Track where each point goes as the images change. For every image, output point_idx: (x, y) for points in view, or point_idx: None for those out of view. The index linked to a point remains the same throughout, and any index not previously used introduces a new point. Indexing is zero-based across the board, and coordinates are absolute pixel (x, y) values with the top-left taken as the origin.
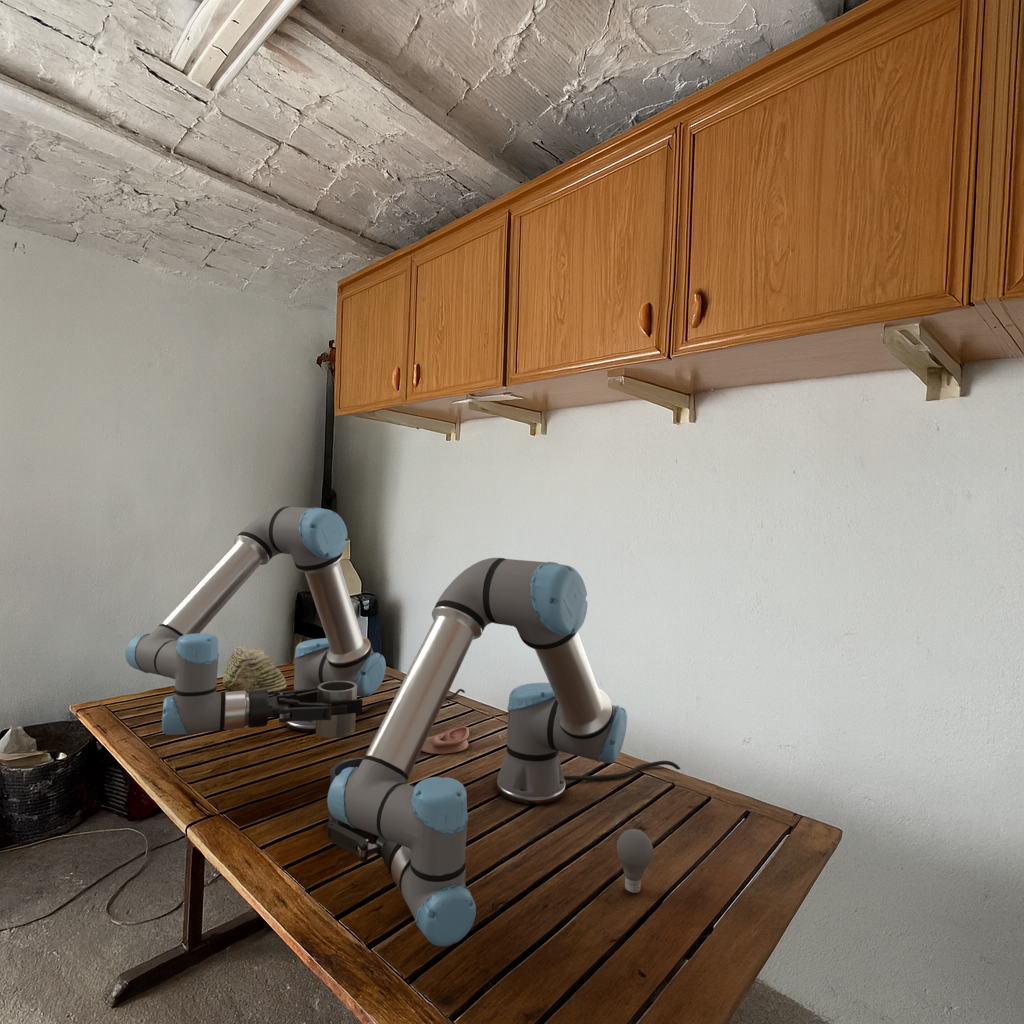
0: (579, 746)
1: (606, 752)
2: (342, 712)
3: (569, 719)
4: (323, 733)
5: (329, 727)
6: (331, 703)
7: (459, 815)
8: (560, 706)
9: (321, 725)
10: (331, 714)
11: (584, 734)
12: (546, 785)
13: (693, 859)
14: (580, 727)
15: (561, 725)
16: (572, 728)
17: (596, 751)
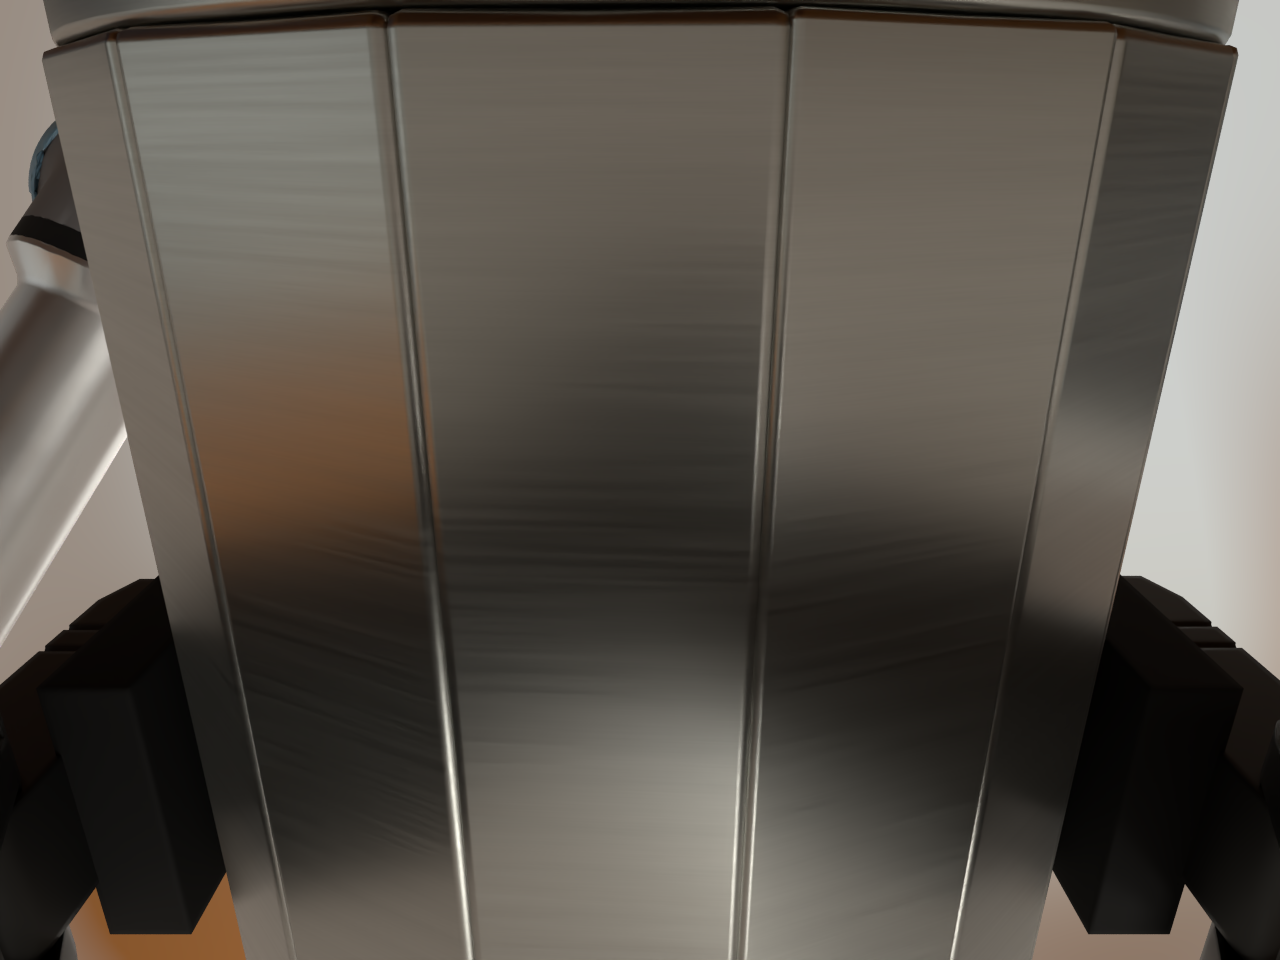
0: (62, 170)
1: (32, 164)
2: (69, 635)
3: (29, 296)
4: (85, 86)
5: (104, 325)
6: (123, 917)
7: None
8: (18, 356)
9: (210, 403)
10: (47, 703)
11: (6, 242)
12: None
13: None
14: (16, 267)
15: (62, 259)
16: (25, 260)
17: (50, 158)
